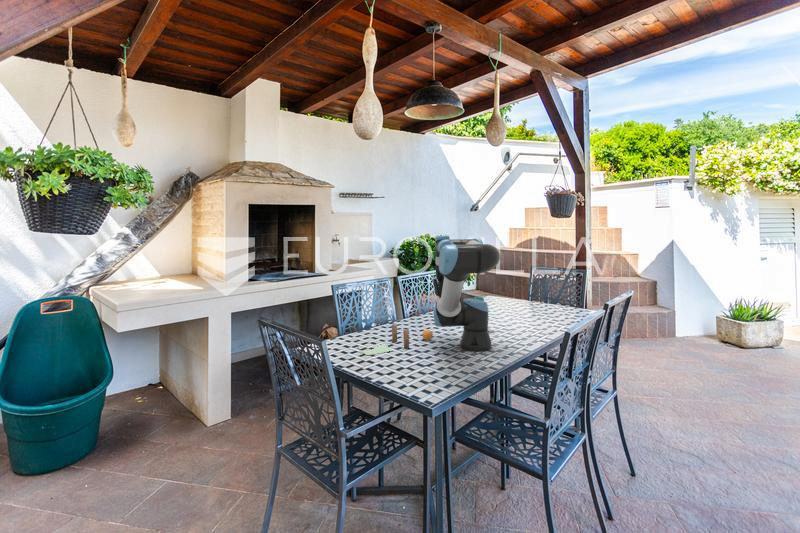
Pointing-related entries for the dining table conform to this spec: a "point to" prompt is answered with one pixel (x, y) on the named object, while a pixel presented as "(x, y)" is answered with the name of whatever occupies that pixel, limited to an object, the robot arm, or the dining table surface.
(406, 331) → the post
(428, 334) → the ball
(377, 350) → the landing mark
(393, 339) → the post
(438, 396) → the dining table surface
